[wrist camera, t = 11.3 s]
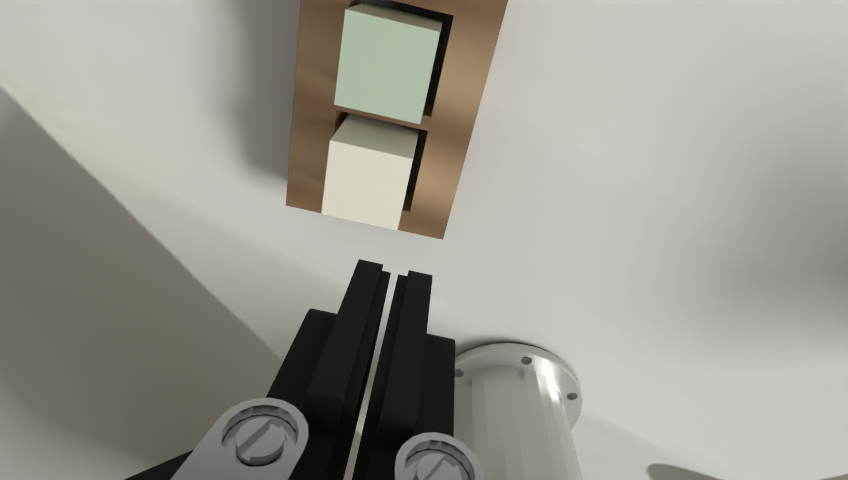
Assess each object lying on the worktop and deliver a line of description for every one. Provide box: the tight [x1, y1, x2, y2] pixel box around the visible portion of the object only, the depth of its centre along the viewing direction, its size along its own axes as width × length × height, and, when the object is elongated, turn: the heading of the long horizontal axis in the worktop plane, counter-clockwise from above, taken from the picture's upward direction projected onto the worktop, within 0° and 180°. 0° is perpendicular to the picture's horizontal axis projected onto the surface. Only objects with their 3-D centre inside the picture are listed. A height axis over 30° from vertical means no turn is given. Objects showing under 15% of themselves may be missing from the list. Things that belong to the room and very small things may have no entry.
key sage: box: [334, 2, 443, 124], centre depth 24 cm, size 4×4×5 cm
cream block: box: [321, 114, 419, 230], centre depth 27 cm, size 4×4×5 cm
